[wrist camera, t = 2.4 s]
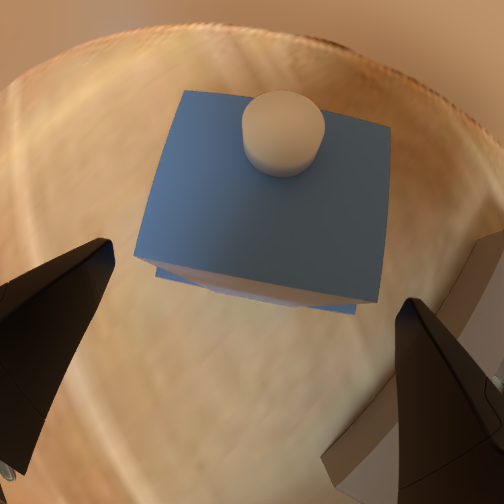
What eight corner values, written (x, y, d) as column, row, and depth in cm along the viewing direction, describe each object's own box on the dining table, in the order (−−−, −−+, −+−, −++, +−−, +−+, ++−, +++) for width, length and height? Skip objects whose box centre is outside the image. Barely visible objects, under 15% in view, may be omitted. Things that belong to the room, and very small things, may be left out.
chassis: (437, 523, 15) (459, 546, 11) (320, 457, 17) (334, 487, 13) (556, 345, 17) (587, 346, 13) (477, 239, 19) (512, 226, 15)
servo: (329, 313, 18) (494, 316, 4) (179, 284, 18) (21, 226, 5) (339, 252, 19) (491, 141, 5) (193, 224, 19) (85, 68, 5)
